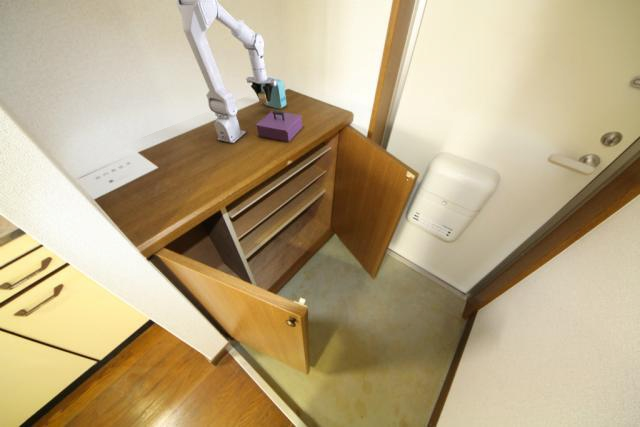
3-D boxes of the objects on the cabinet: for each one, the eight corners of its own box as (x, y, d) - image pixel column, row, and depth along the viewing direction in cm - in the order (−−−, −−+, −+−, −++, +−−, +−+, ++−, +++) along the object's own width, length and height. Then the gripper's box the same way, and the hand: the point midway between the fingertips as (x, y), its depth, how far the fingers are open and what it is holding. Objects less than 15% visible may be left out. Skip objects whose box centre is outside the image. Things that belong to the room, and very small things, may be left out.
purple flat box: (288, 142, 91) (287, 131, 87) (258, 136, 94) (256, 125, 91) (302, 127, 99) (301, 116, 95) (274, 122, 103) (272, 112, 99)
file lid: (286, 132, 87) (285, 122, 84) (255, 126, 90) (253, 116, 87) (301, 116, 95) (300, 107, 92) (272, 111, 99) (270, 102, 96)
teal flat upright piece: (287, 106, 114) (283, 80, 105) (281, 109, 111) (277, 83, 102) (269, 101, 118) (264, 76, 109) (263, 105, 116) (258, 79, 107)
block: (266, 103, 104) (265, 94, 101) (259, 102, 106) (257, 93, 103) (271, 100, 107) (269, 91, 104) (263, 99, 108) (262, 90, 105)
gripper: (277, 66, 96) (282, 99, 106) (249, 63, 100) (256, 95, 110) (269, 71, 92) (275, 105, 102) (240, 68, 96) (248, 101, 106)
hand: (265, 100), depth 106 cm, fingers closed on block, 4 cm apart
